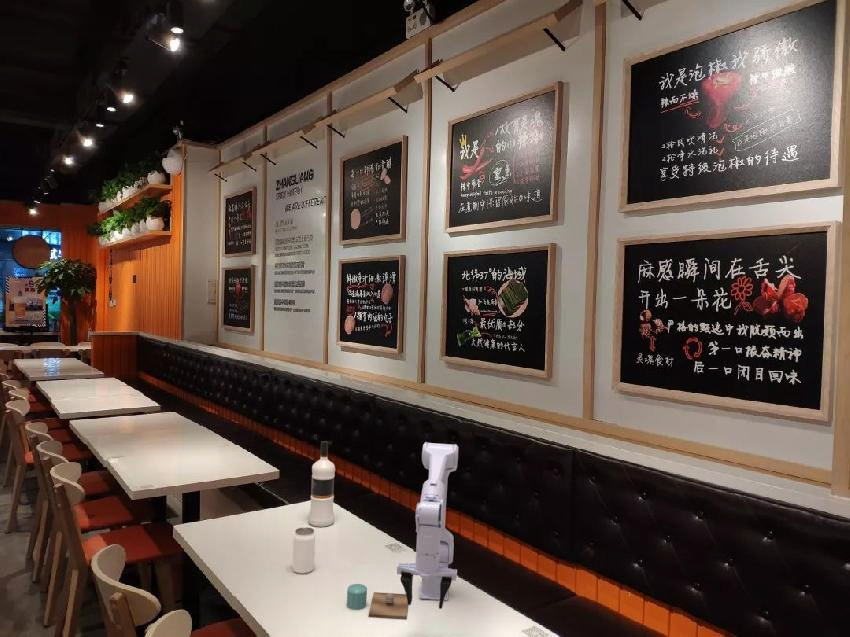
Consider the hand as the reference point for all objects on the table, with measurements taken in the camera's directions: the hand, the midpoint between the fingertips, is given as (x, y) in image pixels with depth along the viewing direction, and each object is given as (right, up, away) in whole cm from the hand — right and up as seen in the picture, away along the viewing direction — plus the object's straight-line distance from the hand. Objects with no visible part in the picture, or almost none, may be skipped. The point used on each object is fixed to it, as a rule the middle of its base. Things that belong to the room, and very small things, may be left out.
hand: (425, 604), depth 154 cm
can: (-37, -7, +38) cm, 53 cm away
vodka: (-38, -5, +76) cm, 85 cm away
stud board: (-10, -9, +18) cm, 22 cm away
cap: (-19, -8, +18) cm, 27 cm away
